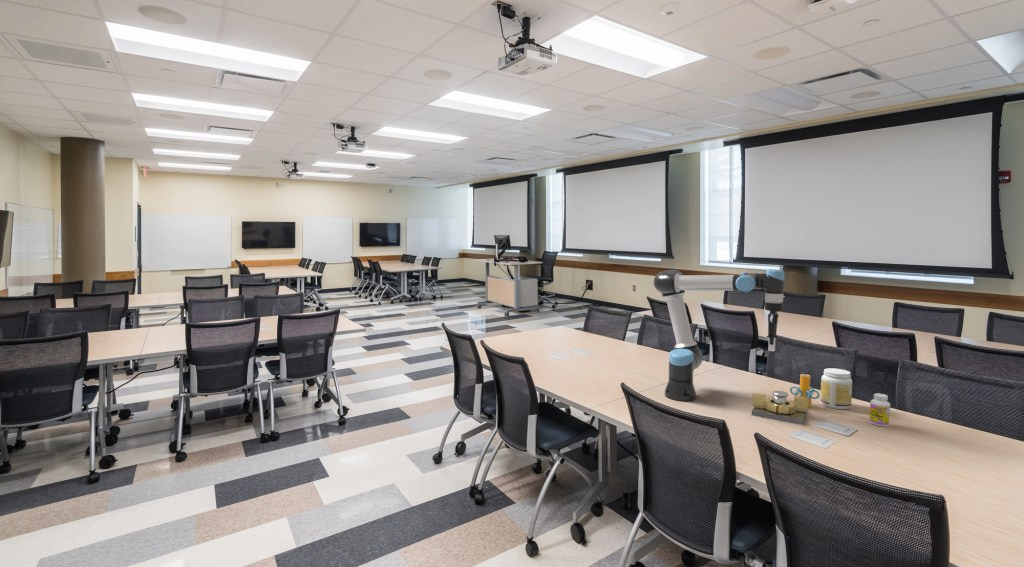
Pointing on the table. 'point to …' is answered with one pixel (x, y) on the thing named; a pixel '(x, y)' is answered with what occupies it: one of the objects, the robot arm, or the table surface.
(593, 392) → the table surface
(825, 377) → the supplement tub
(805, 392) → the cylinder
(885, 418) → the supplement bottle
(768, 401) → the tan handled ring
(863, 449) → the table surface
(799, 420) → the flange plate
